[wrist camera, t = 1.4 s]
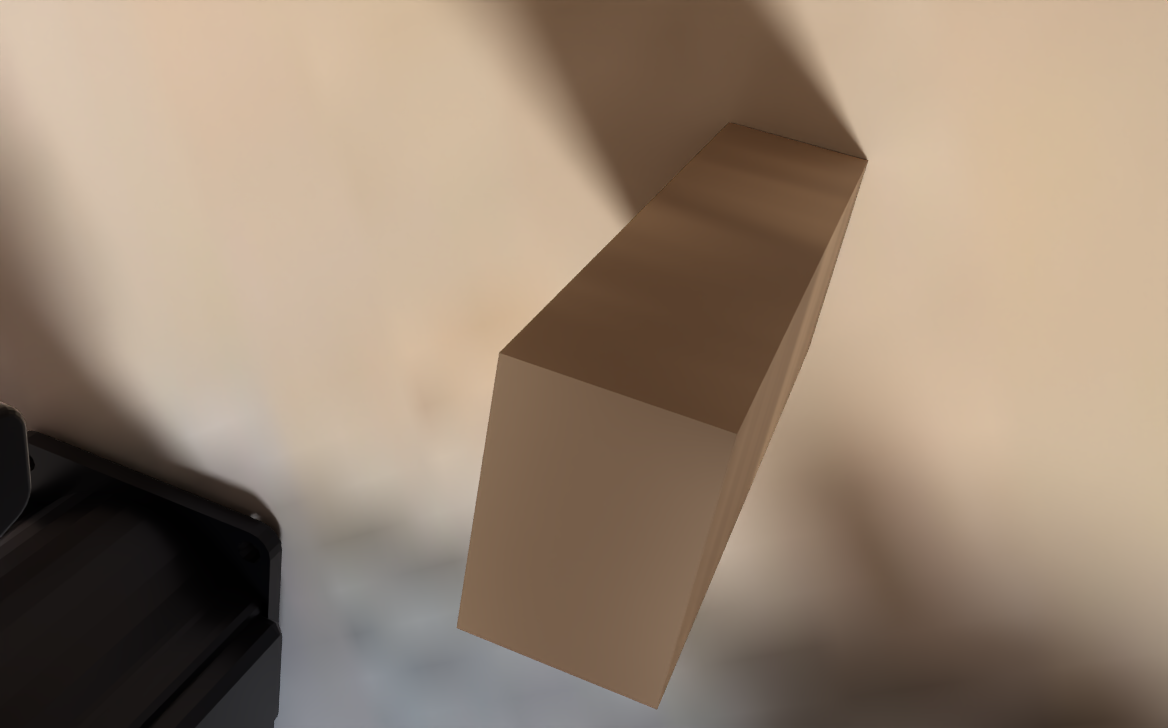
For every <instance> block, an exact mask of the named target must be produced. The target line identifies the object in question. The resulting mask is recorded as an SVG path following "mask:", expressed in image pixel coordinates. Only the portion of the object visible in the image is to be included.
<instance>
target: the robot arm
mask: <svg viewBox="0 0 1168 728" xmlns="http://www.w3.org/2000/svg"><path fill="white" fill-rule="evenodd" d="M253 545H254V546H255V547H256V548H255V547H254V546H253ZM281 558H282V547H281V541H280V540H279V538H278V536H277V534H276V533H275V532H274V531H273V530H272V529H271V528H270V527H269V526H268V525H266V524H264V523H263V522H261V521H258V520H256V519H253V518H251V517H248V516H246V515H243V514H241V513H238V512H236V511H233V510H231V509H228V508H226V507H223V506H221V505H218V504H216V503H213V502H211V501H208V500H206V499H203V498H201V497H198V496H196V495H193V494H191V493H188V492H186V491H183V490H181V489H178V488H176V487H173V486H171V485H168V484H166V483H164V482H161V481H159V480H156V479H154V478H151V477H149V476H146V475H144V474H141V473H139V472H136V471H134V470H131V469H129V468H126V467H124V466H121V465H119V464H116V463H114V462H111V461H109V460H106V459H104V458H101V457H99V456H96V455H94V454H91V453H89V452H86V451H84V450H81V449H79V448H76V447H74V446H71V445H69V444H66V443H64V442H61V441H59V440H56V439H54V438H51V437H49V436H46V435H44V434H41V433H39V432H35V431H28V432H27V431H26V423H25V420H24V418H23V416H22V414H21V413H20V411H19V410H17V409H16V408H15V407H13V406H11V405H8V404H5V403H3V402H0V728H274V720H275V719H276V717H277V715H278V712H279V691H280V670H281V650H282V634H281V630H280V627H279V602H280V580H281Z"/></svg>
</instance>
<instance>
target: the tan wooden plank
mask: <svg viewBox="0 0 1168 728" xmlns="http://www.w3.org/2000/svg"><path fill="white" fill-rule="evenodd" d="M867 162H868V160H864V159H860V158H857V157H853V156H850V155H846V154H842V153H839V152H835V151H831V150H828V149H824V148H821V147H817V146H813V145H810V144H806V143H803V142H799V141H795V140H792V139H788V138H784V137H781V136H777V135H774V134H770V133H766V132H763V131H759V130H756V129H752V128H748V127H745V126H741V125H737V124H734V123H730V122H729V123H728V124H727V125H726V126H725V127H724V128H723V129H722V130H721V131H720V132H719V133H718V134H717V135H716V136H715V137H714V138H713V139H712V140H711V141H710V142H709V143H708V144H707V145H706V146H705V147H704V148H703V149H702V150H701V151H700V152H699V153H698V154H697V155H696V156H695V157H694V158H693V159H692V160H691V161H690V162H689V163H688V164H687V165H686V166H685V167H684V168H683V169H682V170H681V171H680V172H679V173H678V174H677V175H676V176H675V177H674V178H673V179H672V180H671V181H670V182H669V183H668V184H667V185H666V186H665V187H664V188H663V189H662V190H661V191H660V192H659V193H658V194H657V195H656V196H655V197H654V198H653V199H652V200H651V201H650V202H649V203H648V204H647V205H646V206H645V207H644V208H643V209H642V210H641V211H640V212H639V213H638V214H637V215H636V216H635V217H634V218H633V219H632V220H631V221H630V222H629V223H628V224H627V225H626V226H625V227H624V228H623V229H622V230H621V231H620V232H619V233H618V234H617V235H616V236H615V237H614V238H613V239H612V240H611V241H610V242H609V243H608V244H607V245H606V246H605V247H604V248H603V249H602V250H601V251H600V252H599V253H598V254H597V255H596V256H595V257H594V258H593V259H592V260H591V261H590V262H589V263H588V264H587V265H586V266H585V267H584V268H583V269H582V270H581V271H580V272H579V273H578V274H577V275H576V276H575V277H574V278H573V279H572V280H571V281H570V282H569V283H568V284H567V285H566V286H565V287H564V288H563V289H562V290H561V291H560V292H559V293H558V294H557V296H556V297H555V298H554V299H553V300H552V301H551V302H550V303H549V304H548V305H547V306H546V307H545V308H544V309H543V310H542V311H541V312H540V313H539V314H538V315H537V316H536V317H535V318H534V319H533V320H532V321H531V322H530V323H529V324H528V325H527V326H526V327H525V328H524V329H523V330H522V331H521V332H520V333H519V334H518V335H517V336H516V337H515V338H514V339H513V340H512V341H511V342H510V343H509V344H508V345H507V346H506V347H505V348H504V349H503V350H502V351H501V352H500V353H499V358H498V364H497V371H496V377H495V383H494V390H493V396H492V403H491V409H490V416H489V422H488V429H487V435H486V442H485V448H484V455H483V461H482V467H481V474H480V480H479V487H478V493H477V500H476V506H475V513H474V519H473V526H472V532H471V538H470V545H469V551H468V558H467V564H466V571H465V577H464V584H463V590H462V597H461V603H460V610H459V616H458V622H457V628H458V629H460V630H463V631H465V632H468V633H470V634H473V635H475V636H478V637H480V638H483V639H485V640H487V641H490V642H492V643H495V644H497V645H500V646H502V647H505V648H507V649H510V650H512V651H515V652H517V653H519V654H522V655H524V656H527V657H529V658H532V659H534V660H537V661H539V662H542V663H544V664H547V665H549V666H551V667H554V668H556V669H559V670H561V671H564V672H566V673H569V674H571V675H574V676H576V677H579V678H581V679H583V680H586V681H588V682H591V683H593V684H596V685H598V686H601V687H603V688H606V689H608V690H610V691H613V692H615V693H618V694H620V695H623V696H625V697H628V698H630V699H633V700H635V701H638V702H640V703H642V704H645V705H647V706H650V707H652V708H655V709H657V708H658V706H659V704H660V701H661V699H662V697H663V694H664V692H665V689H666V687H667V685H668V682H669V680H670V677H671V675H672V673H673V670H674V668H675V666H676V663H677V661H678V658H679V656H680V654H681V651H682V649H683V647H684V644H685V642H686V639H687V637H688V635H689V632H690V630H691V628H692V625H693V623H694V620H695V618H696V616H697V613H698V611H699V609H700V606H701V604H702V601H703V599H704V597H705V594H706V592H707V590H708V587H709V585H710V582H711V580H712V578H713V575H714V573H715V570H716V568H717V566H718V563H719V561H720V559H721V556H722V554H723V551H724V549H725V547H726V544H727V542H728V540H729V537H730V535H731V532H732V530H733V528H734V525H735V523H736V521H737V518H738V516H739V513H740V511H741V509H742V506H743V504H744V502H745V499H746V497H747V494H748V492H749V490H750V487H751V485H752V483H753V480H754V478H755V475H756V473H757V471H758V468H759V466H760V463H761V461H762V459H763V456H764V454H765V452H766V449H767V447H768V444H769V442H770V440H771V437H772V435H773V433H774V430H775V428H776V425H777V423H778V421H779V418H780V416H781V414H782V411H783V409H784V406H785V404H786V402H787V399H788V397H789V395H790V392H791V390H792V387H793V385H794V383H795V380H796V378H797V376H798V373H799V371H800V368H801V366H802V364H803V361H804V359H805V356H806V354H807V352H808V349H809V346H810V343H811V340H812V337H813V334H814V331H815V327H816V324H817V321H818V318H819V315H820V312H821V308H822V305H823V302H824V299H825V296H826V293H827V289H828V286H829V283H830V280H831V277H832V274H833V270H834V267H835V264H836V261H837V258H838V254H839V251H840V248H841V245H842V242H843V239H844V235H845V232H846V229H847V226H848V223H849V220H850V216H851V213H852V210H853V207H854V204H855V201H856V197H857V194H858V191H859V188H860V185H861V181H862V178H863V175H864V172H865V169H866V166H867Z"/></svg>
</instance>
